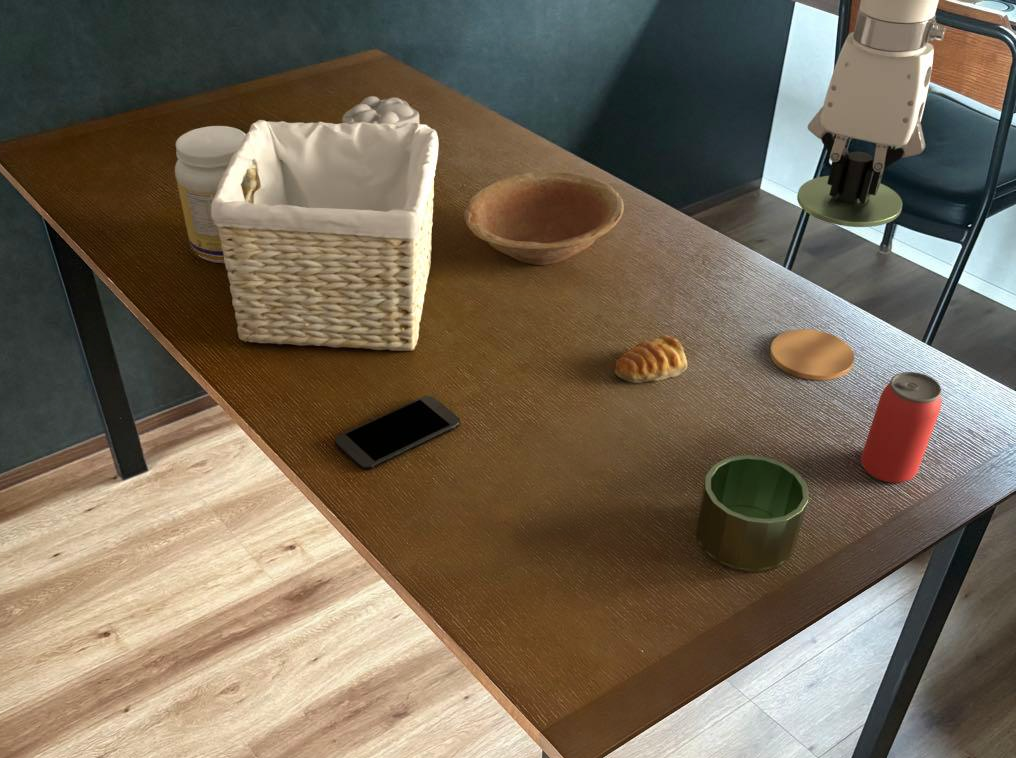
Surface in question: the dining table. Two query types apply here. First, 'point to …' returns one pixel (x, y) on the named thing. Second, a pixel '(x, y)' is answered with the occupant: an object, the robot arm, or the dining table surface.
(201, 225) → the supplement tub
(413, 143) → the basket
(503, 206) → the bowl
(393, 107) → the lumpy-topped squat cylinder
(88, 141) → the dining table surface
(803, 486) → the pot
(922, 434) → the beer can
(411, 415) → the smartphone
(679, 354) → the pastry
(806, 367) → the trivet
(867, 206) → the pot lid
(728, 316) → the dining table surface
